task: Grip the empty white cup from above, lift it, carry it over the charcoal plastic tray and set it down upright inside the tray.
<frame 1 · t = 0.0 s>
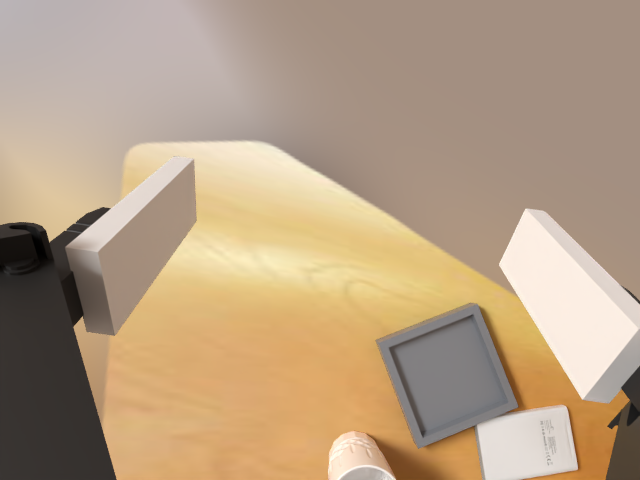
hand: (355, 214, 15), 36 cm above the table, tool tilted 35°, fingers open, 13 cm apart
white cup: (354, 456, 49), on the table
external hard drive: (520, 440, 51), on the table
tray: (442, 370, 50), on the table
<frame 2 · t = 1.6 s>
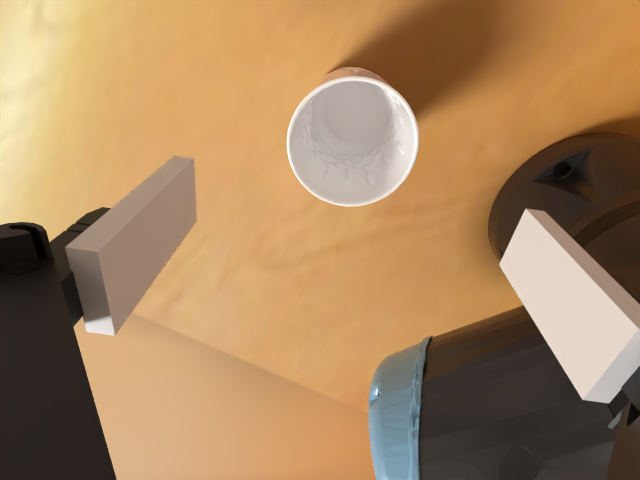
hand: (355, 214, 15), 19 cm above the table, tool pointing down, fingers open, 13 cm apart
white cup: (349, 109, 31), on the table
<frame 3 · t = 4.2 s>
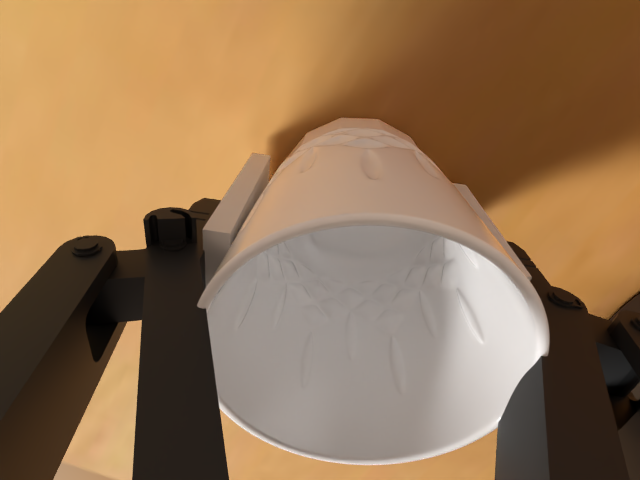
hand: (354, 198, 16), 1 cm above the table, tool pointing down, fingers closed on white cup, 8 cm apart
white cup: (353, 190, 17), on the table, touching gripper
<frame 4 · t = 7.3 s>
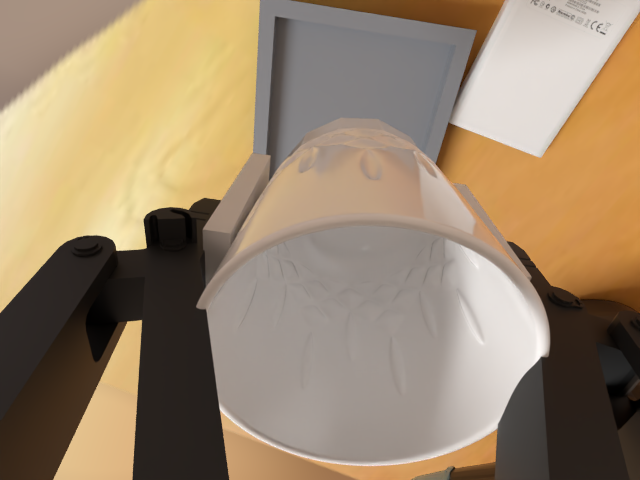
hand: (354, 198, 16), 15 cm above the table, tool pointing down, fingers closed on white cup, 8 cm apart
white cup: (353, 190, 17), point 14 cm above the table, touching gripper
external hard drive: (535, 53, 27), on the table
tray: (349, 117, 29), on the table
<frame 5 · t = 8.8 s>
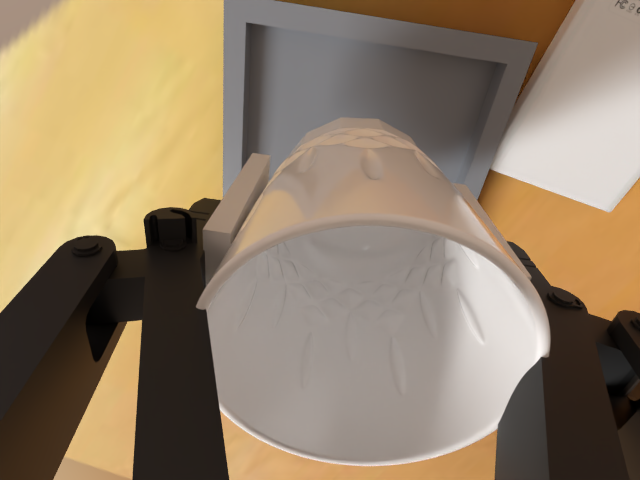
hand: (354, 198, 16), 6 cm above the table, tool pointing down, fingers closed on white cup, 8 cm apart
white cup: (353, 190, 17), point 5 cm above the table, touching gripper
external hard drive: (609, 74, 20), on the table
tray: (352, 156, 22), on the table
when the fingers open (2 cm above the table, at t = 10.4 s): white cup moves 1 cm, resting on tray.
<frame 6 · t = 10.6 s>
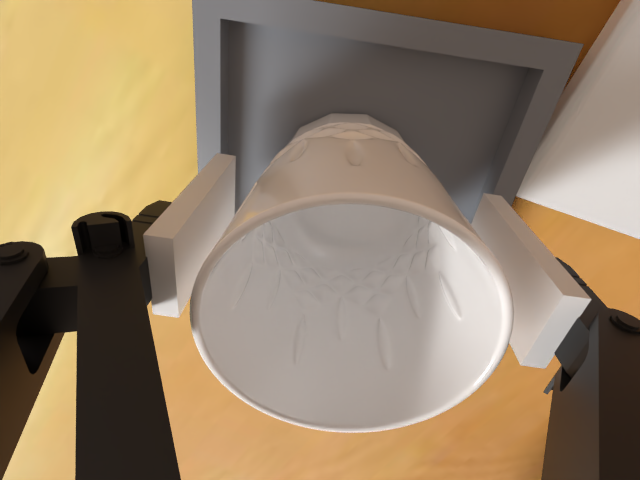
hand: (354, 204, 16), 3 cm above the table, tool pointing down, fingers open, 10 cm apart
white cup: (345, 182, 18), point 1 cm above the table, touching tray
tray: (352, 177, 19), on the table
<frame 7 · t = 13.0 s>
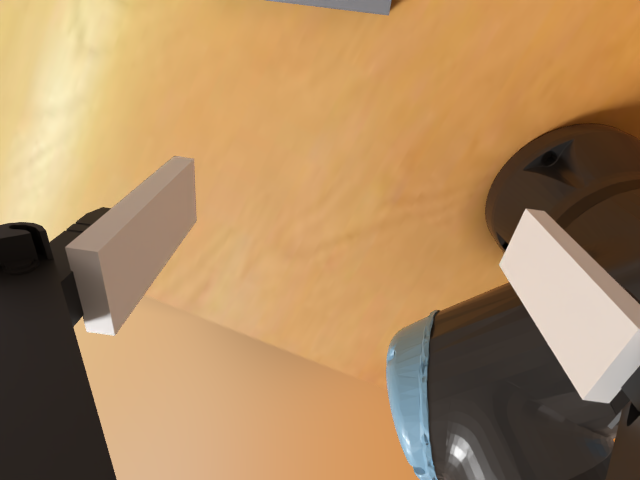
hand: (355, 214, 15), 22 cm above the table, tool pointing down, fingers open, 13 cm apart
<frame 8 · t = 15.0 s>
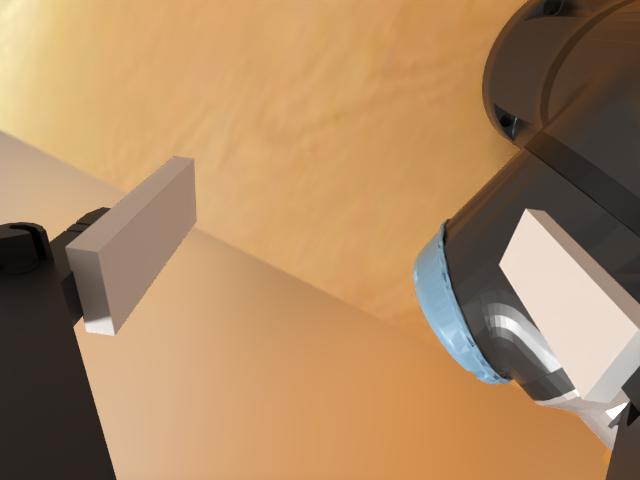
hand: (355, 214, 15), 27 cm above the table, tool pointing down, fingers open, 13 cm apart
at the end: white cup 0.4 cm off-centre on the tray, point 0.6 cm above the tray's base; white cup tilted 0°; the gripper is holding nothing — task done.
